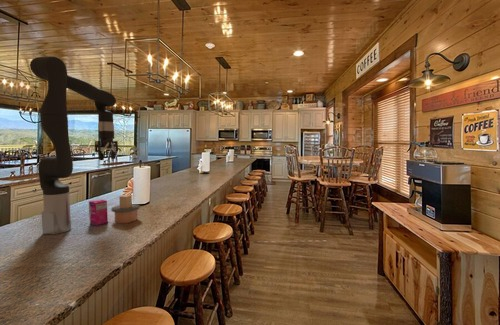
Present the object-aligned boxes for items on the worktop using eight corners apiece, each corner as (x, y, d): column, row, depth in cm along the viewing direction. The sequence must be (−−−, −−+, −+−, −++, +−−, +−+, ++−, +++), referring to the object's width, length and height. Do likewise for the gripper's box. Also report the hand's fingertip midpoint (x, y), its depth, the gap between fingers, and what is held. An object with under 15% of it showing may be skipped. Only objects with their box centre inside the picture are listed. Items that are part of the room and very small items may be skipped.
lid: (129, 213, 118) (128, 199, 118) (105, 211, 120) (104, 197, 120) (145, 206, 131) (144, 193, 130) (123, 204, 133) (122, 192, 132)
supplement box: (89, 224, 119) (88, 201, 118) (101, 221, 124) (100, 198, 123) (96, 226, 116) (95, 202, 115) (108, 223, 121) (107, 200, 120)
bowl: (128, 224, 120) (128, 212, 120) (110, 222, 122) (110, 210, 122) (141, 217, 130) (140, 206, 130) (124, 216, 132) (123, 205, 131)
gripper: (110, 130, 143) (111, 158, 144) (89, 129, 129) (91, 160, 130) (121, 130, 141) (122, 158, 143) (102, 129, 127) (103, 160, 129)
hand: (107, 159), depth 136 cm, fingers open, 8 cm apart
